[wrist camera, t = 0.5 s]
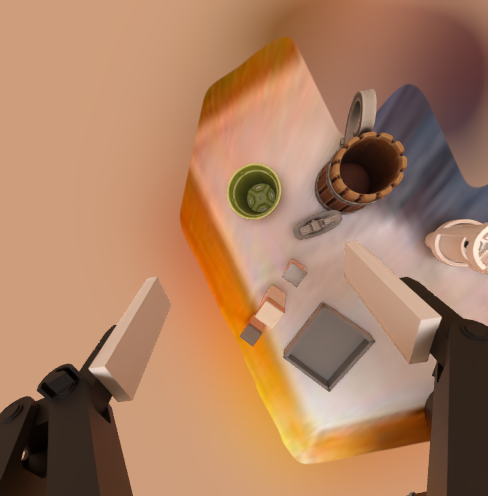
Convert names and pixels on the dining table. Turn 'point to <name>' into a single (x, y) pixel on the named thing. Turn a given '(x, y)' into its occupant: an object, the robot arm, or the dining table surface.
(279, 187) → the plant pot
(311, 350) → the tray
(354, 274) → the robot arm
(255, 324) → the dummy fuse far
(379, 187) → the mug
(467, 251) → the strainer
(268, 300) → the block
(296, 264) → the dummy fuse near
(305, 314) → the dining table surface
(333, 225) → the lighter
